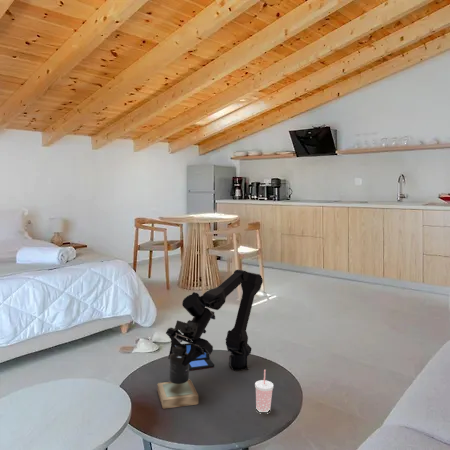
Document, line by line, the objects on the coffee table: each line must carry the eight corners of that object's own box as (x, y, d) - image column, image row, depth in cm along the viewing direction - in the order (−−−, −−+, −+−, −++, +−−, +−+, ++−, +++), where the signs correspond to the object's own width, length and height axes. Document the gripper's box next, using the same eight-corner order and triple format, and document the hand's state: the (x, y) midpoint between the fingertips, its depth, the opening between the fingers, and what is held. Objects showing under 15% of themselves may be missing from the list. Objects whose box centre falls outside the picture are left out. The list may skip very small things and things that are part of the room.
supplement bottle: (190, 383, 140) (191, 349, 139) (171, 385, 138) (171, 351, 137) (186, 374, 147) (187, 341, 146) (167, 376, 145) (167, 343, 144)
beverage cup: (258, 403, 141) (260, 364, 140) (275, 408, 138) (277, 368, 137) (250, 411, 136) (252, 370, 135) (267, 417, 133) (269, 375, 132)
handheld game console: (185, 372, 164) (186, 354, 163) (178, 361, 174) (179, 344, 173) (215, 368, 168) (215, 350, 167) (206, 357, 178) (207, 340, 177)
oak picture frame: (190, 387, 151) (190, 379, 151) (198, 404, 140) (198, 395, 139) (157, 391, 147) (157, 382, 147) (162, 408, 136) (163, 399, 136)
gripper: (169, 305, 149) (145, 343, 142) (208, 317, 137) (184, 359, 130) (185, 321, 156) (162, 358, 149) (222, 333, 144) (200, 374, 137)
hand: (176, 362), depth 141 cm, fingers closed on supplement bottle, 7 cm apart
